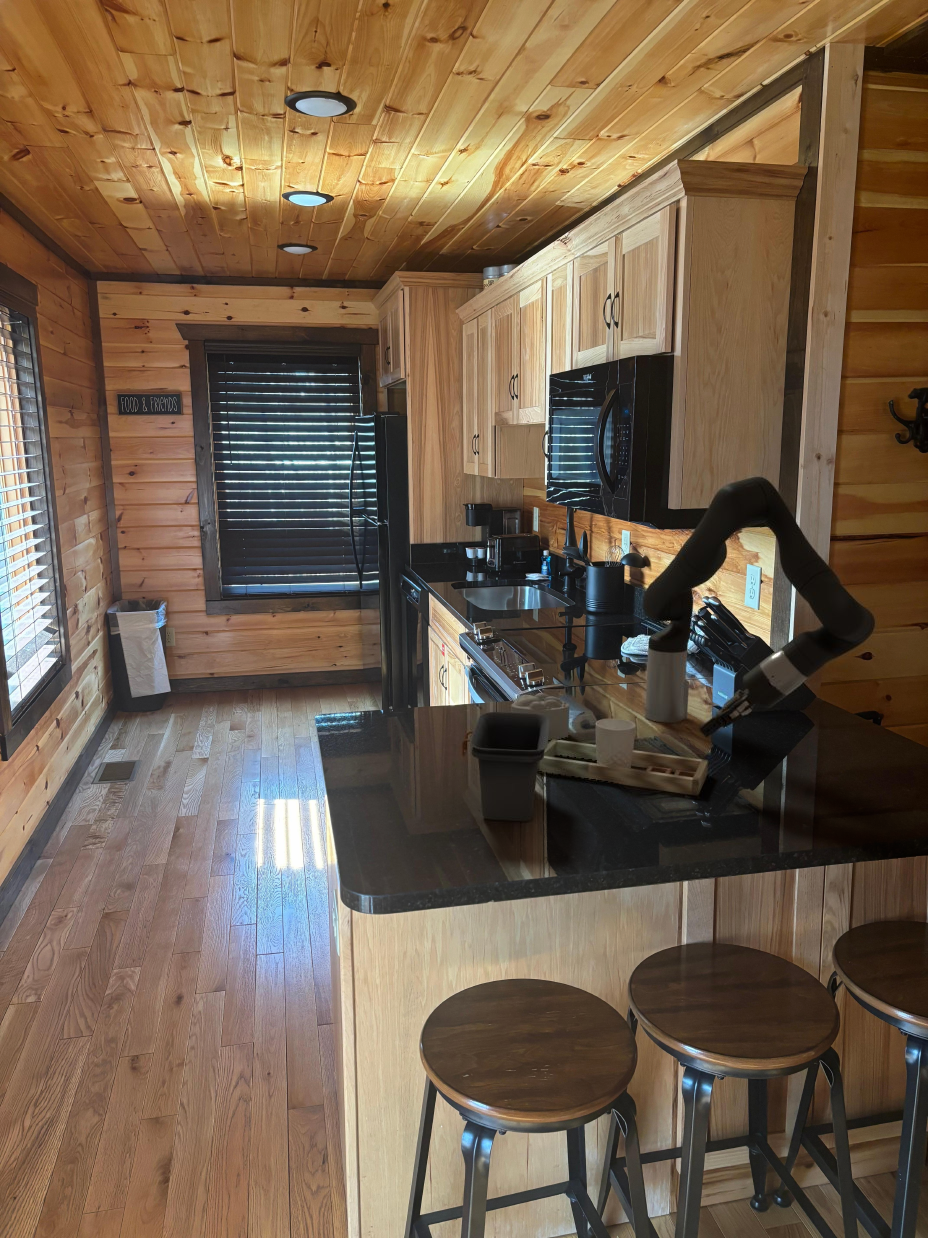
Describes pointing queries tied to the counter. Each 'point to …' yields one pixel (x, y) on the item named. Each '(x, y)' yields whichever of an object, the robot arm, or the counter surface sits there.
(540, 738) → the storage bin
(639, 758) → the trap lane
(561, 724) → the lumpy-topped squat cylinder
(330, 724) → the counter surface
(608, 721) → the white cup
